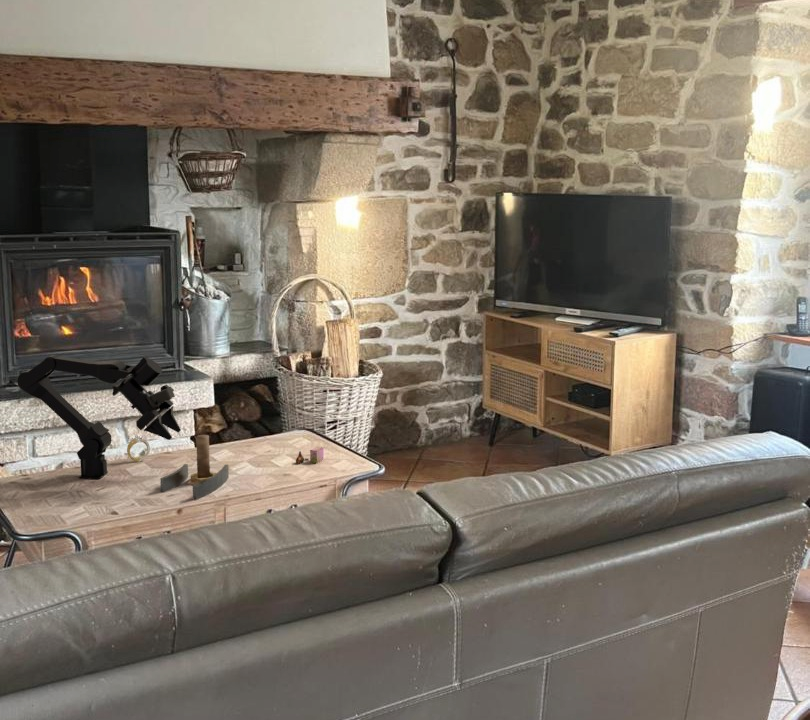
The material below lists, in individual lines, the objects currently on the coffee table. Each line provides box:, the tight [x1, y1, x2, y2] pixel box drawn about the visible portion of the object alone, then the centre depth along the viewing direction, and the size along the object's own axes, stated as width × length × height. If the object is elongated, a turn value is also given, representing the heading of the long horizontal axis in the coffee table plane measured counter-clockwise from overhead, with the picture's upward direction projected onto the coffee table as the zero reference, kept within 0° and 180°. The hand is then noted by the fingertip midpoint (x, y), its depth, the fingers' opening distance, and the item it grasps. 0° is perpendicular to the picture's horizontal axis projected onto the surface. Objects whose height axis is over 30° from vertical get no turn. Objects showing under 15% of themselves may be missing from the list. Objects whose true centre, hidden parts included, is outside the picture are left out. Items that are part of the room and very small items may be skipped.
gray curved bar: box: [159, 463, 230, 501], centre depth 278 cm, size 16×21×4 cm
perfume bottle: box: [295, 446, 325, 465], centre depth 303 cm, size 12×12×4 cm
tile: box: [187, 479, 198, 485], centre depth 285 cm, size 8×8×1 cm
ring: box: [126, 435, 151, 463], centre depth 302 cm, size 7×3×8 cm, turn 118°
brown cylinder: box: [190, 434, 217, 483], centre depth 283 cm, size 7×7×13 cm
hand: (175, 435), depth 283 cm, fingers open, 9 cm apart
